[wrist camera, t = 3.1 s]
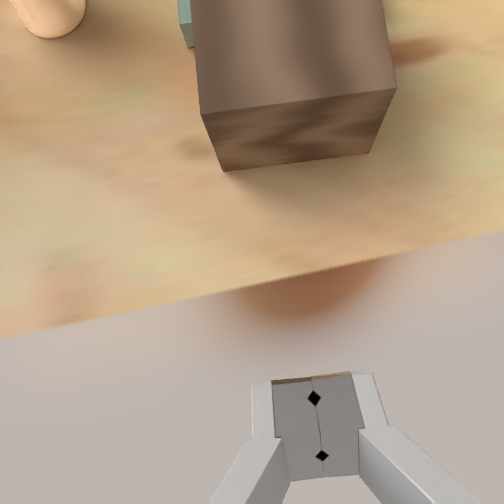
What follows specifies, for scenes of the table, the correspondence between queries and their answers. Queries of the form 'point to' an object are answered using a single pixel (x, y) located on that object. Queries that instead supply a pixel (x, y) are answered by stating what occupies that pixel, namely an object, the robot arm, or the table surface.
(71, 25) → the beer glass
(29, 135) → the table surface
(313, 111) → the walnut block
